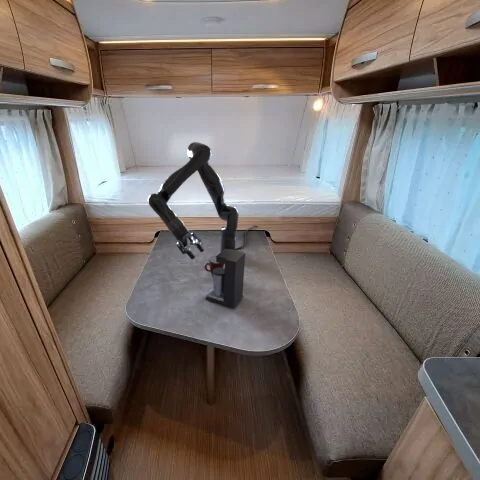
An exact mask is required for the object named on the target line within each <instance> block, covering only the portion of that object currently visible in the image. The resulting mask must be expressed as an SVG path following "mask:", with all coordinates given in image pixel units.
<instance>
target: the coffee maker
mask: <svg viewBox="0 0 480 480" xmlns="http://www.w3.org/2000/svg"><path fill="white" fill-rule="evenodd" d="M215 257H216V262H218V263H222V264H224V269H225V276H224V297H221V298H218V297H215V296H214V295H213V288H211V289H210V290H209V291H208V292H207V294H206V296H205V300H207V301H210V302H213V303H216V304H219V305H222V306H225V307H228V308H230V309H234V308H235V307H236V306H237V304H238V303H239V302H240V300H241V299H242V297H243V294H244V279H245V265H246V264H245V263H246V251H242V250H239V249H237V250H229V249H224V250H223V251H222V252H220V251H219V253H218V254H217V255H216V256H215Z"/></svg>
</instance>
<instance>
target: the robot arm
mask: <svg viewBox="0 0 480 480" xmlns="http://www.w3.org/2000/svg"><path fill="white" fill-rule="evenodd" d="M186 150H187V153H186V154H187V156H188V159H189V161H187V162H186V164H184V165H183V166H181V167H180V168H178V169H177V170H175V171H174V172H172V173H171V174H170V175H169V176H168V177H167V178H166V179H165V181H164V182H162V184H161V186H160V188H159V190H158V191H157V193H151V194H150V195H149V196H148V198H147V203H148V205H149V207H150V208H151V209H152V210H153V211H154V213H156V214H157V216H158V217H159V218H160V219H161V221H162V222H163V224H164V225H165V227H167V229H168V231H169V232H170V233H171V235H172V236H173V238H175V240H176V241H178V242H177V243H175V246H176V247H177V248H178V250H179V251H180V252H181V254H182V255H185V254H186V255H187V256H188V257H189V259H190V260H194V259H196V255H195V254H194V253H193V252H192V250H191V246H195V247H196V248H197V249H198V251H199V252H200V253H203V252H204V251H205V248H204V246H203V245H202V244H201V243H202V239H201V238H200V237H199V236H198V235H197V233H195V231H193V232H192V233H190V229H189V228H188V227H187V226H186V224H185V223H184V221H182V219H181V218H179V216H178V215H177V214H176V213H175V211H174V210H173V209H171V208H170V206H169V205H168V202H169V201H170V200H171V198H172V196H173V195H174V194H175V193H177V191H178V190H179V189H180V187H181V186H182V185H183V184H184V183H185V182H186V181H187V180H188V179H189V178H190V177H192V176H193V175H194V174H195V173H196V172H197V173H198V175H199V177H200V180H201V181H202V183H203V185H204V188H205V190H206V191H207V193H208V195H209V197H210V198H211V201H212V203H213V205H214V208H215V211H216V213H217V216H218V217H219V219H220V220H222V221H224V222H226V224H225V225H223V226H221V228H220V248H219V249H220V251H219V253H220V252H222V251H223V250H224V249H229V250H240V249H242V248H244V247H245V246H246V244H247V235H246V234H247V232H248V231H250V230H252V229H253V228H257V227H258V226H257V225H253V226H252V227H250V228H248V229H246V231H244V234H243V235H244V236H243V237H244V244H242V245H241V246H239V247H236V242H237V229H238V227H239V226H238V225H239V216H240V214H239V209H238V208H237V207H235V206H231V205H228V204H227V202H226V201H225V198H224V195H225V186H224V183H223V181H222V178H221V177H220V175H218V173H217V172H216V171H215V169H214V168H213V167H212V165H211V164H210V163H209V161H210V159H211V157H212V150H211V148H210V146H208V145H206V144H204V143H201V142H197V141H193V142H191V143H189V145H188V147H187V149H186Z"/></svg>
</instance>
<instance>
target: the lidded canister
mask: <svg viewBox="0 0 480 480" xmlns="http://www.w3.org/2000/svg"><path fill="white" fill-rule="evenodd" d="M213 273H214V275H212V277H213V279H212V280H213V285H212V287H213V295H214V296H215V297H218V298H221V297H224V276H225V267H223V268H215V269H214V270H213Z"/></svg>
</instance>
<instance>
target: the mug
mask: <svg viewBox="0 0 480 480" xmlns="http://www.w3.org/2000/svg"><path fill="white" fill-rule="evenodd" d="M208 266H209V269H208V268H207V267H208ZM215 268H225V264H222V263H218V262H216V256H211V257H209V260H208V262H207V263H205V265H204V270H205V271H206V272H209V273H210V274H211V276H213V275H214V273H213V270H214V269H215Z"/></svg>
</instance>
